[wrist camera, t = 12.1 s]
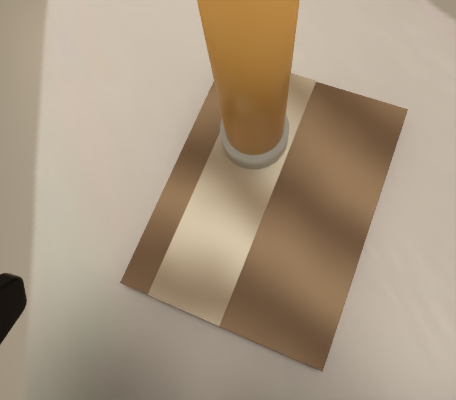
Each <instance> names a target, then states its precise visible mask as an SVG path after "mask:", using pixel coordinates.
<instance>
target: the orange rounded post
mask: <svg viewBox="0 0 456 400" xmlns="http://www.w3.org/2000/svg"><path fill="white" fill-rule="evenodd" d="M197 2H198V7H199V12H200V16H201V21H202V26H203V30H204V35H205V40H206V45H207V49H208V54H209V59H210V63H211V68H212V73H213V77H214V82H215V87H216V91H217V96H218V101H219V105H220V110H221V115H222V120H221V124H220V135H221V139H222V143H223V147H224V150H225V152H226V154H227V156H228V157H229V158H230V159H231V160H232V161H233V162H234V163H235V164H237V165H239V166H241V167H244V168H247V169H262V168H266V167H268V166H270V165H272V164H274V163H275V162H277V161H278V160H279V159H280V158H281V156H282V155H283V153H284V152H285V150H286V147H287V142H288V136H289V121H288V118H287V115H286V109H287V100H288V92H289V83H290V75H291V67H292V58H293V50H294V42H295V33H296V25H297V17H298V8H299V0H197Z"/></svg>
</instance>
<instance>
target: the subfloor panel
mask: <svg viewBox="0 0 456 400" xmlns="http://www.w3.org/2000/svg"><path fill="white" fill-rule="evenodd" d="M407 111H408V109H405V108H401V107H398V106H395V105H391V104H388V103H385V102H381V101H378V100H375V99H372V98H368V97H365V96H362V95H358V94H355V93H352V92H348V91H345V90H342V89H338V88H335V87H332V86H328V85H325V84H322V83H318V82H316V81H315V80H311V79H308V78H305V77H301V76H298V75H295V74H291V75H290V83H289V92H288V100H287V109H286V115H287V118H288V121H289V136H288V142H287V147H286V150H285V152H284V153H283V155H282V156H281V158H280V159H279V160H278V161H277V162H275V163H274V164H272V165H270V166H268V167H266V168H262V169H247V168H244V167H241V166H239V165H237V164H235V163H234V162H233V161H232V160H231V159H230V158H229V157H228V156H227V154H226V152H225V150H224V147H223V143H222V139H221V135H220V124H221V120H222V115H221V110H220V105H219V101H218V96H217V91H216V87H215V82H213V85H212V87H211V89H210V91H209V93H208V95H207V97H206V100H205V102H204V104H203V106H202V108H201V110H200V113H199V115H198V117H197V119H196V121H195V123H194V125H193V128H192V130H191V132H190V134H189V136H188V138H187V140H186V143H185V145H184V147H183V149H182V151H181V153H180V155H179V158H178V160H177V162H176V164H175V166H174V168H173V171H172V173H171V175H170V177H169V179H168V181H167V183H166V186H165V188H164V190H163V192H162V194H161V196H160V198H159V201H158V203H157V205H156V207H155V209H154V211H153V213H152V216H151V218H150V220H149V222H148V224H147V226H146V229H145V231H144V233H143V235H142V237H141V239H140V241H139V244H138V246H137V248H136V250H135V252H134V254H133V256H132V259H131V261H130V263H129V265H128V267H127V269H126V271H125V274H124V276H123V278H122V280H121V282H120V283H122V284H124V285H127V286H129V287H131V288H134V289H136V290H138V291H140V292H143V293H145V294H147V295H149V296H151V297H154V298H156V299H158V300H160V301H163V302H165V303H167V304H170V305H172V306H174V307H176V308H179V309H181V310H183V311H185V312H188V313H190V314H192V315H195V316H197V317H199V318H201V319H204V320H206V321H208V322H210V323H213V324H215V325H217V326H220V327H222V328H224V329H227V330H229V331H231V332H234V333H236V334H238V335H240V336H243V337H245V338H247V339H249V340H252V341H254V342H256V343H259V344H261V345H263V346H265V347H268V348H270V349H272V350H274V351H277V352H279V353H281V354H284V355H286V356H288V357H290V358H293V359H295V360H297V361H299V362H302V363H304V364H306V365H309V366H311V367H313V368H315V369H318V370H320V371H323V368H324V365H325V362H326V359H327V356H328V353H329V350H330V347H331V344H332V341H333V338H334V334H335V331H336V328H337V325H338V322H339V319H340V316H341V313H342V310H343V307H344V304H345V301H346V298H347V295H348V292H349V288H350V285H351V282H352V279H353V276H354V273H355V270H356V267H357V264H358V261H359V258H360V255H361V252H362V249H363V245H364V242H365V239H366V236H367V233H368V230H369V227H370V224H371V221H372V218H373V215H374V212H375V209H376V206H377V203H378V199H379V196H380V193H381V190H382V187H383V184H384V181H385V178H386V175H387V172H388V169H389V166H390V163H391V160H392V157H393V153H394V150H395V147H396V144H397V141H398V138H399V135H400V132H401V129H402V126H403V123H404V120H405V117H406V114H407Z"/></svg>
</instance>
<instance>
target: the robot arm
mask: <svg viewBox="0 0 456 400" xmlns="http://www.w3.org/2000/svg"><path fill="white" fill-rule="evenodd" d="M26 302H27V299H26V294H25V288H24V282H23V279H22V278H21V277H19V276H16V275H13V274H9V273H3V274H0V344H1V343H2V341H3V340H4V338H5V337H6V335H7V334H8V332H9V331H10V330H11V328H12V327H13V325H14V324H15V322H16V321H17V319H18V318H19V316H20V315H21V314H22V312H23V311H24V309H25V306H26Z"/></svg>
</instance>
